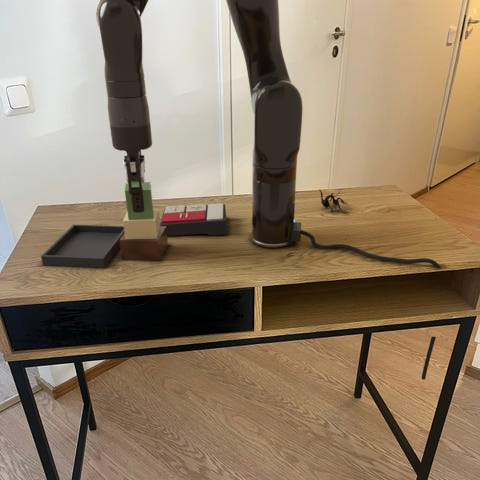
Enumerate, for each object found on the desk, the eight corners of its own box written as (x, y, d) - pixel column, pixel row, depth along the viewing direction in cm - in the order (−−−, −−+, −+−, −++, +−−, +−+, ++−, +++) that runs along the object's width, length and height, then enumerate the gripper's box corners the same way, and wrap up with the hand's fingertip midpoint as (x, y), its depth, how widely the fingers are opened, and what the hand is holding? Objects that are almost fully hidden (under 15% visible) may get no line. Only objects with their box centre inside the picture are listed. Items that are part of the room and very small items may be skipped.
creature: (338, 206, 134) (312, 203, 131) (344, 187, 131) (318, 183, 128) (353, 217, 128) (325, 214, 125) (359, 196, 125) (332, 193, 122)
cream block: (160, 226, 109) (158, 209, 106) (157, 238, 103) (155, 220, 101) (130, 227, 108) (128, 209, 106) (125, 239, 103) (122, 221, 101)
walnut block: (168, 245, 111) (166, 226, 109) (159, 261, 104) (157, 241, 102) (133, 244, 112) (130, 225, 110) (122, 259, 105) (119, 239, 103)
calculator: (164, 204, 123) (225, 200, 122) (166, 221, 125) (226, 217, 125) (158, 221, 113) (224, 217, 113) (161, 239, 116) (226, 234, 115)
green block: (153, 209, 106) (150, 181, 103) (153, 218, 102) (150, 189, 99) (129, 211, 105) (125, 183, 102) (128, 220, 101) (124, 191, 98)
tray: (129, 234, 116) (128, 226, 115) (104, 267, 102) (103, 258, 101) (74, 232, 118) (73, 224, 117) (43, 265, 103) (40, 256, 102)
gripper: (150, 128, 88) (158, 216, 97) (150, 113, 100) (157, 192, 109) (106, 130, 87) (119, 218, 96) (111, 114, 99) (122, 194, 108)
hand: (139, 204), depth 102 cm, fingers open, 8 cm apart
